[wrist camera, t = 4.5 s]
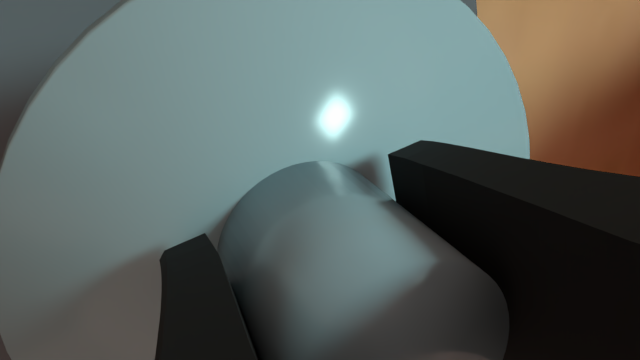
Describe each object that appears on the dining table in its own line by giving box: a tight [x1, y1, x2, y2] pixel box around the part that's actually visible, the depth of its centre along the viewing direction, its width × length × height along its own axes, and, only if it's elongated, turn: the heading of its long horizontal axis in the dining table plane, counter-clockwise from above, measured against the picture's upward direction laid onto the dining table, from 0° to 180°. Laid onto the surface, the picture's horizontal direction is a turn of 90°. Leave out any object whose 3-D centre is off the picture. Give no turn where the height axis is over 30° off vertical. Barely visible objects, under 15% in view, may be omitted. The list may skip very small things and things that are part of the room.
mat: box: [0, 0, 477, 360], centre depth 14 cm, size 14×12×1 cm
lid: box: [0, 0, 530, 360], centre depth 9 cm, size 9×9×4 cm
